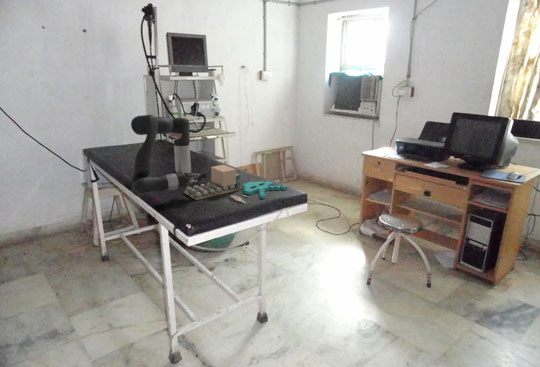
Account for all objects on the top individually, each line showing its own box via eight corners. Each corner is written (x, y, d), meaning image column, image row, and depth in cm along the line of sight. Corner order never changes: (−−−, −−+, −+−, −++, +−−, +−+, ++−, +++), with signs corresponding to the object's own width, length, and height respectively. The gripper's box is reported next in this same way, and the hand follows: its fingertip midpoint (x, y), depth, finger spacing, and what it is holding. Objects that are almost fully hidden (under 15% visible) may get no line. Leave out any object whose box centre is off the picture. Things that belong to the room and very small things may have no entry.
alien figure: (286, 189, 199) (258, 182, 211) (286, 186, 199) (258, 178, 211) (262, 199, 185) (234, 191, 197) (262, 195, 184) (234, 187, 196)
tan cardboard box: (211, 181, 199) (211, 166, 197) (224, 178, 204) (223, 164, 202) (223, 186, 191) (222, 172, 188) (236, 184, 195) (236, 169, 193)
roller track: (184, 193, 191) (183, 178, 189) (228, 183, 207) (228, 169, 205) (196, 200, 182) (195, 184, 179) (241, 189, 198) (241, 175, 195)
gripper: (180, 176, 172) (212, 170, 183) (167, 170, 182) (199, 165, 193) (180, 191, 175) (212, 185, 185) (168, 184, 184) (199, 179, 195)
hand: (205, 175), depth 189 cm, fingers closed
